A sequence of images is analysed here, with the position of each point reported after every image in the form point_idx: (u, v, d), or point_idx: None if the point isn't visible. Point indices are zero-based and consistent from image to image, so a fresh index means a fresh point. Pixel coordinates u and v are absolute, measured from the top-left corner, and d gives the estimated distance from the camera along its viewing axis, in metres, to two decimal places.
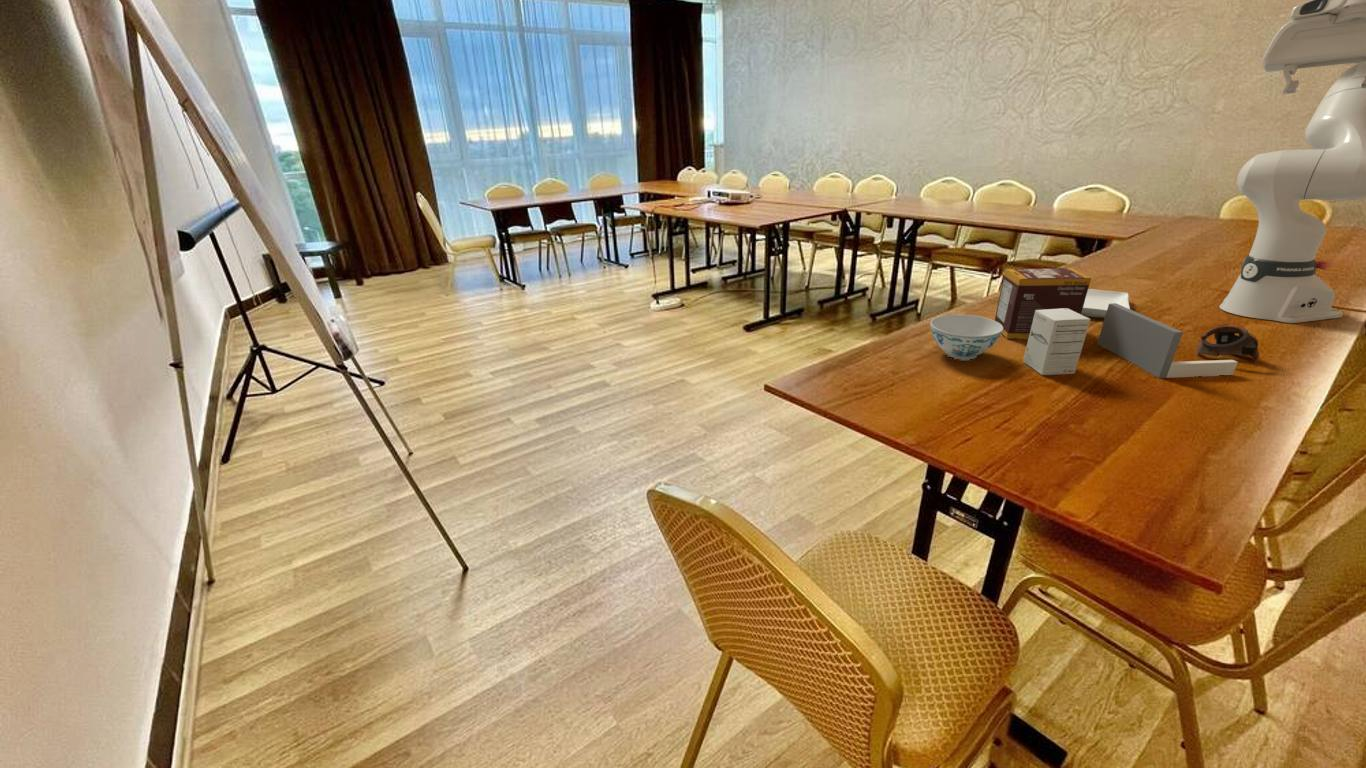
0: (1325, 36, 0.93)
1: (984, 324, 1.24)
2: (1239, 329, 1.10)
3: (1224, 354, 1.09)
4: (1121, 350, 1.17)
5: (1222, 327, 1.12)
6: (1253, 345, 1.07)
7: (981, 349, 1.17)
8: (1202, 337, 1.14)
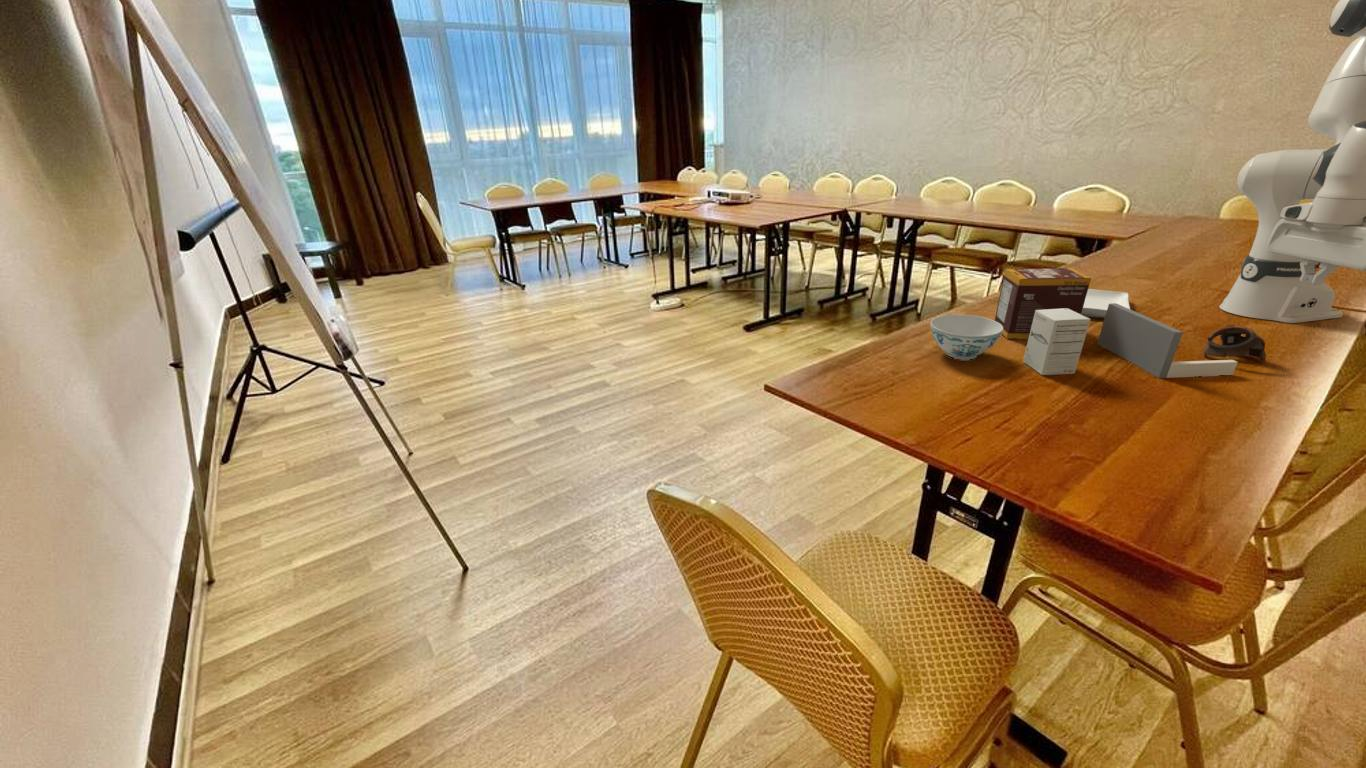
0: (1305, 238, 1.05)
1: (984, 324, 1.24)
2: (1246, 330, 1.09)
3: (1231, 355, 1.09)
4: (1121, 350, 1.17)
5: (1229, 328, 1.12)
6: (1260, 346, 1.07)
7: (981, 349, 1.17)
8: (1208, 338, 1.13)
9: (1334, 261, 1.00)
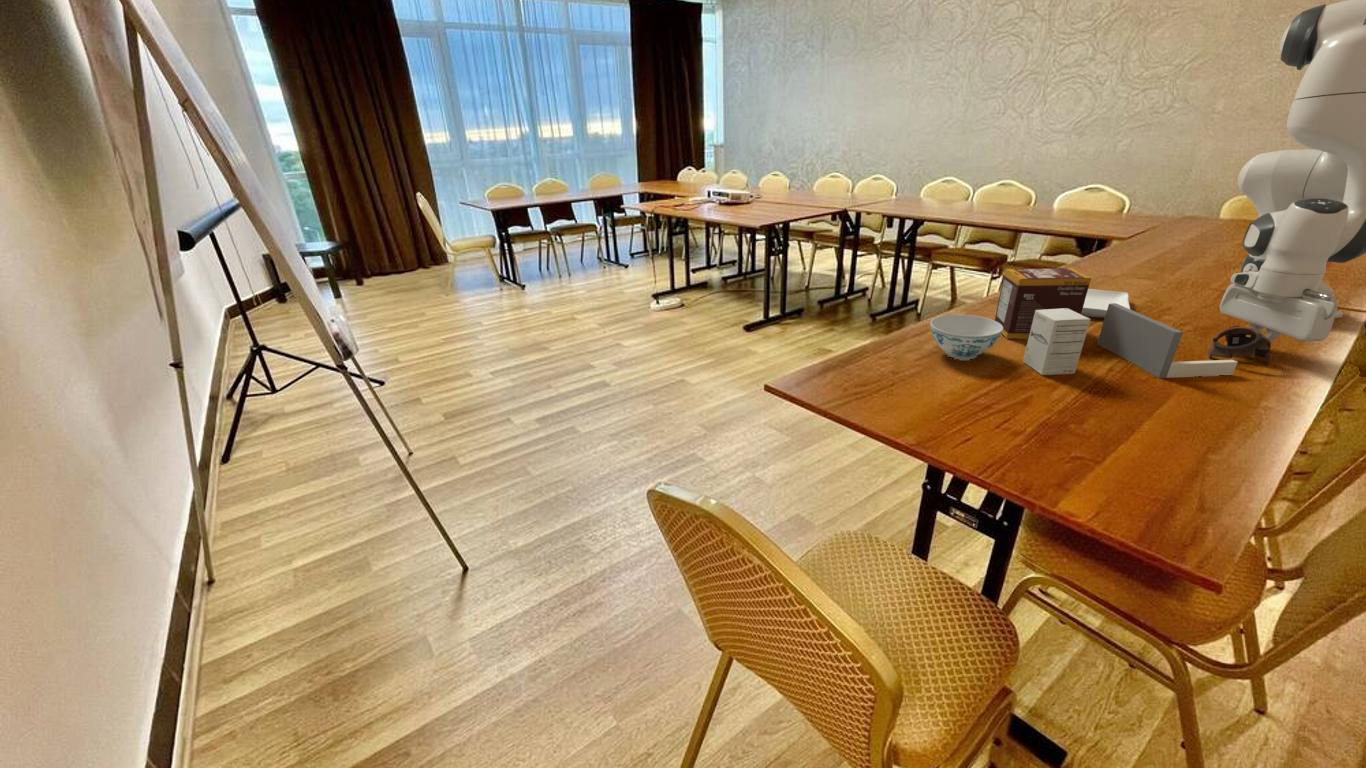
0: (1253, 304, 1.11)
1: (984, 324, 1.24)
2: (1251, 331, 1.08)
3: (1237, 356, 1.08)
4: (1121, 350, 1.17)
5: (1234, 329, 1.11)
6: (1266, 347, 1.06)
7: (981, 349, 1.17)
8: (1214, 339, 1.12)
9: (1278, 329, 1.06)
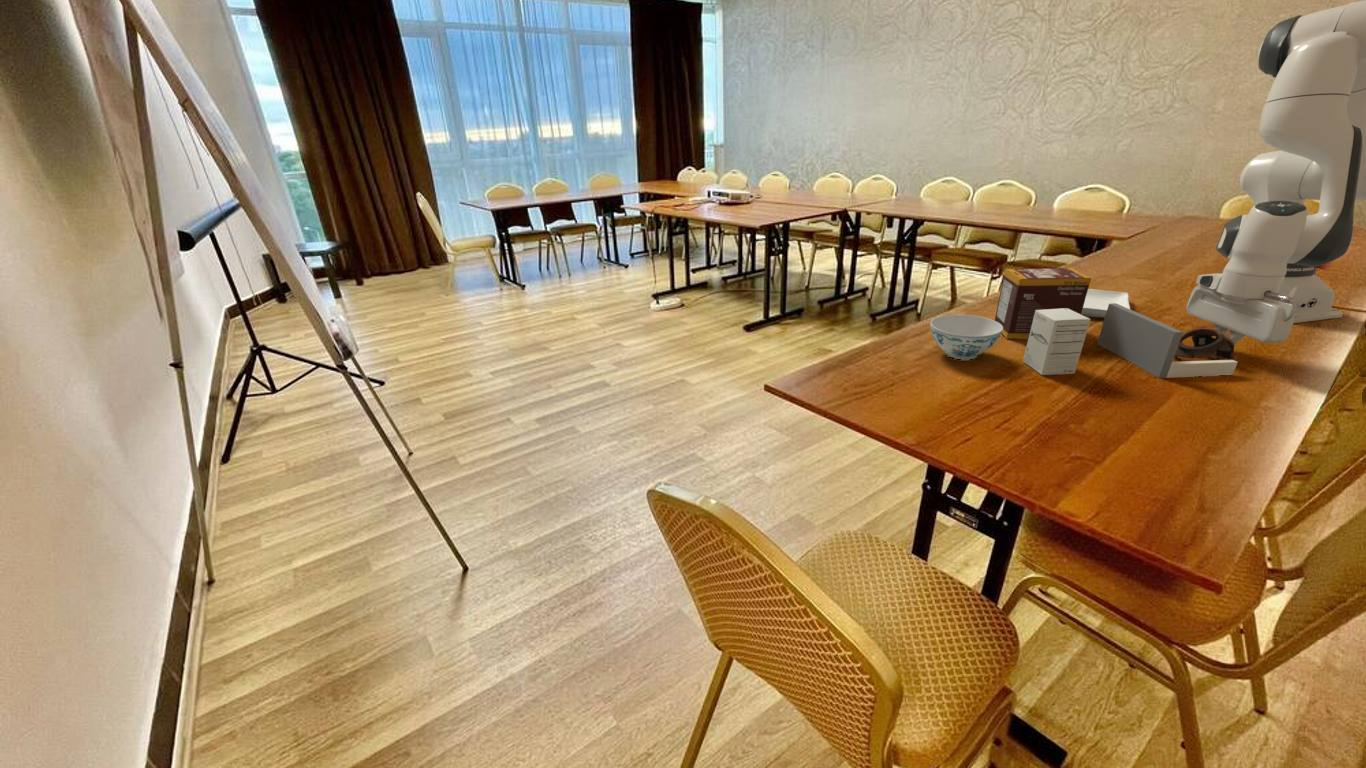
0: (1217, 305, 1.12)
1: (984, 324, 1.24)
2: (1215, 332, 1.09)
3: (1199, 357, 1.09)
4: (1121, 350, 1.17)
5: (1198, 329, 1.12)
6: (1228, 348, 1.07)
7: (981, 349, 1.17)
8: None
9: (1240, 330, 1.07)
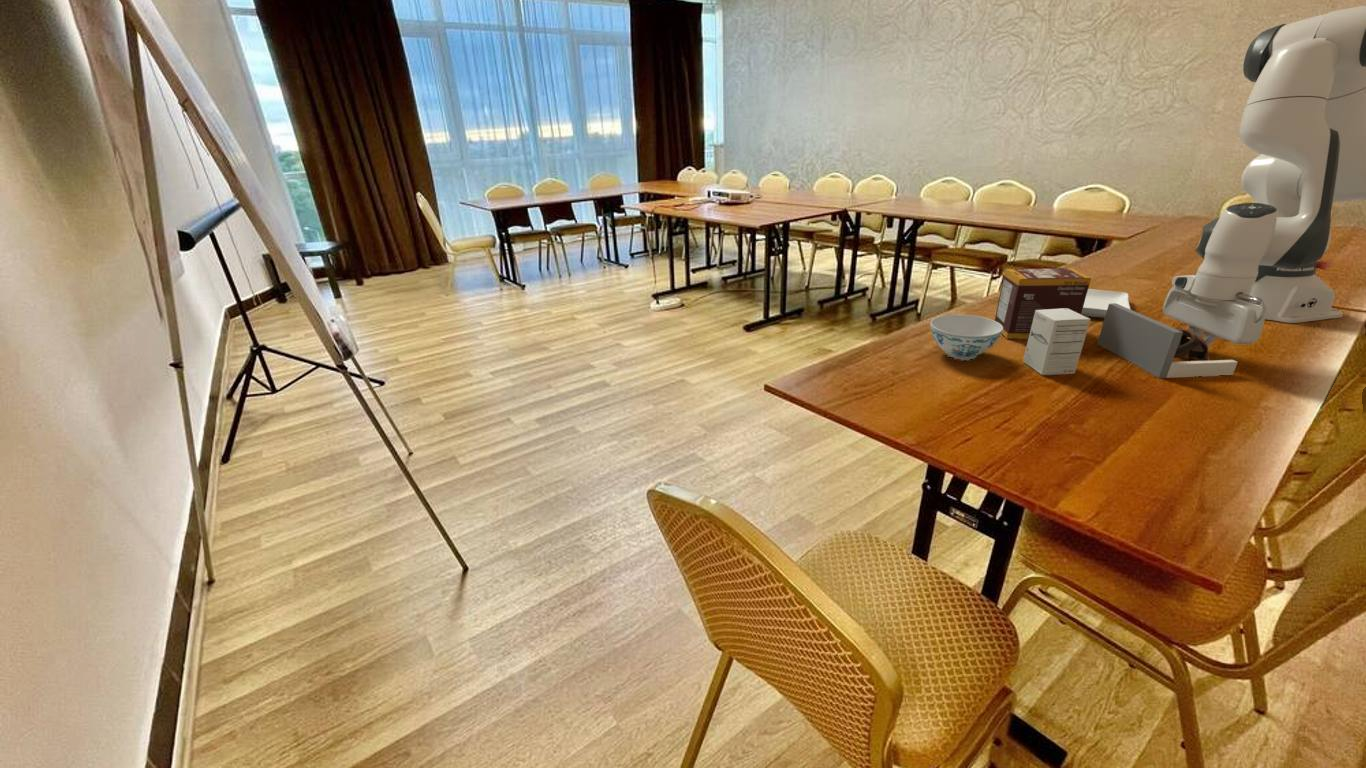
0: (1192, 307, 1.13)
1: (984, 324, 1.24)
2: (1188, 332, 1.10)
3: None
4: (1121, 350, 1.17)
5: None
6: (1200, 349, 1.07)
7: (981, 349, 1.17)
8: None
9: (1213, 332, 1.08)
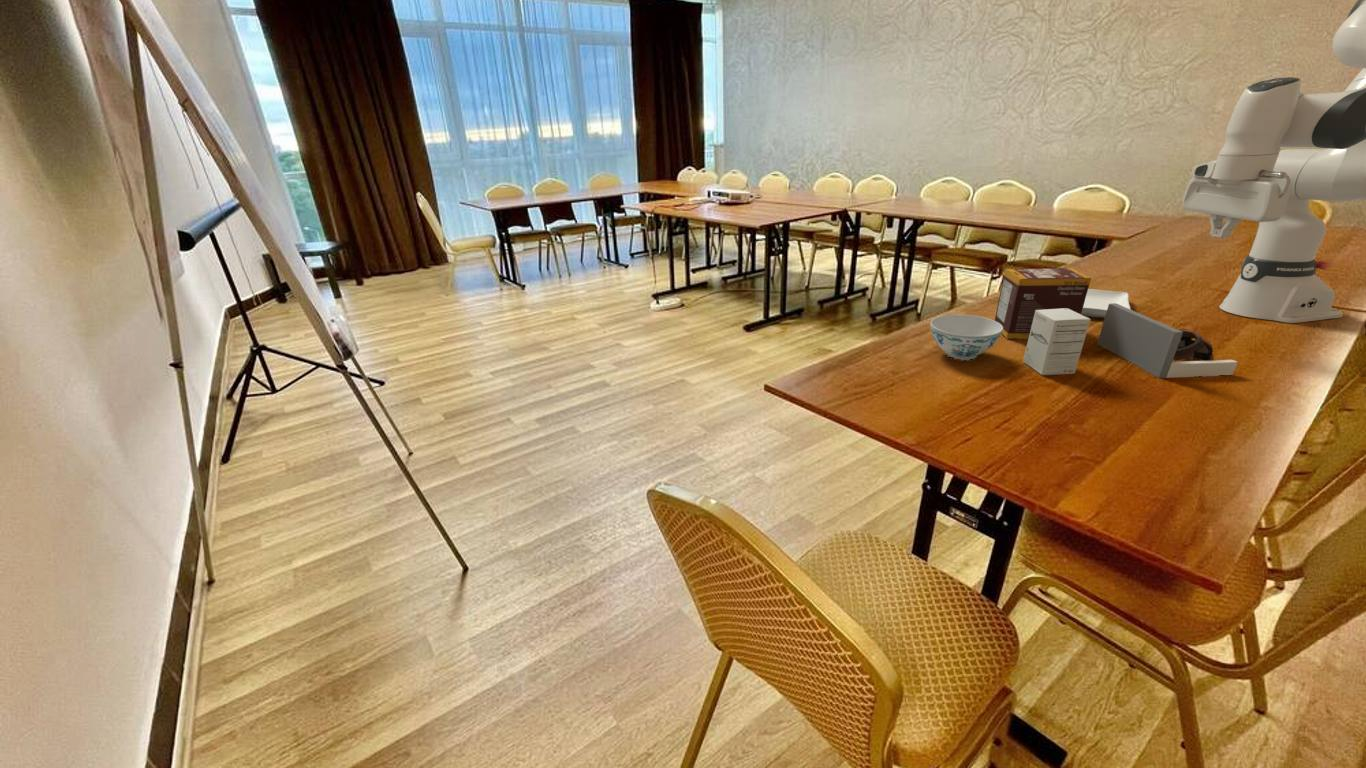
0: (1213, 194, 1.12)
1: (984, 324, 1.24)
2: (1193, 334, 1.09)
3: (1176, 359, 1.09)
4: (1121, 350, 1.17)
5: None
6: (1205, 350, 1.07)
7: (981, 349, 1.17)
8: None
9: (1236, 214, 1.08)
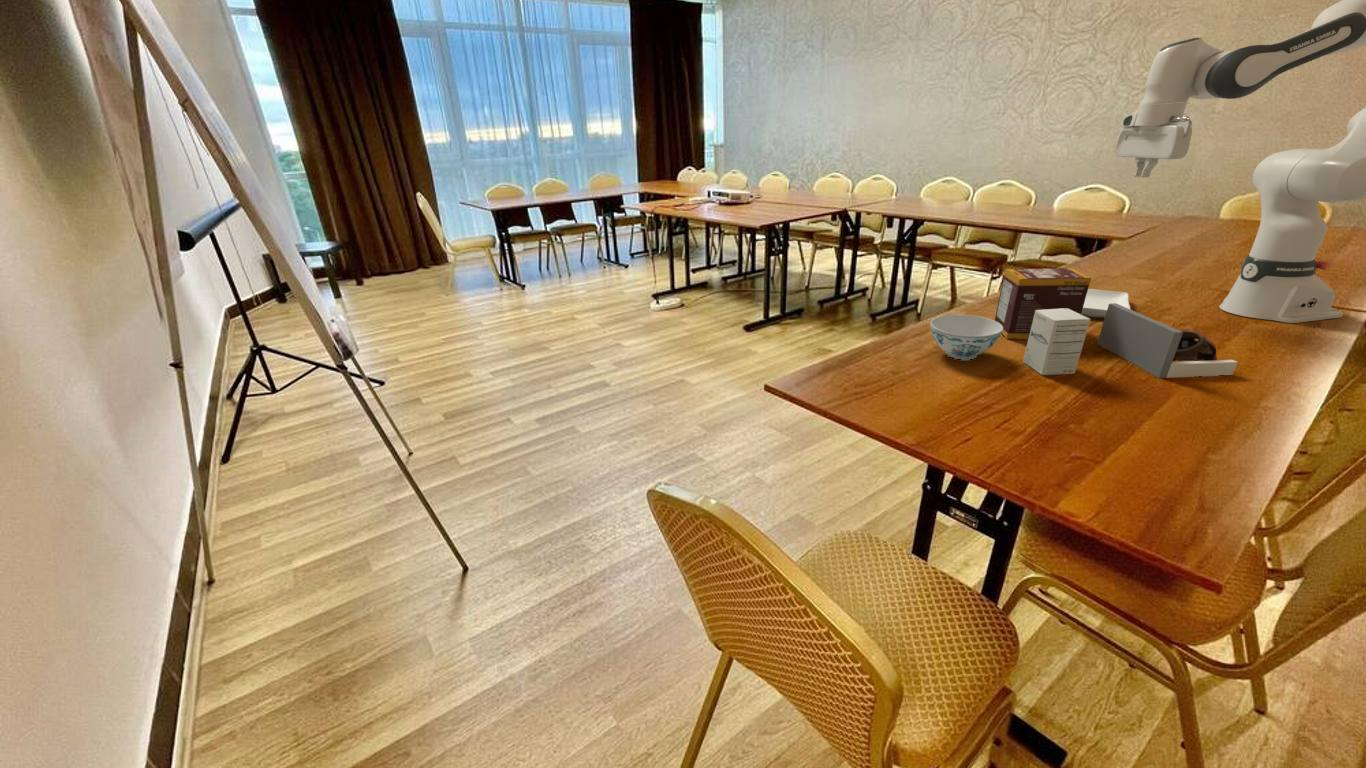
0: (1136, 140, 1.33)
1: (984, 324, 1.24)
2: (1197, 334, 1.09)
3: (1180, 359, 1.08)
4: (1121, 350, 1.17)
5: None
6: (1209, 351, 1.06)
7: (981, 349, 1.17)
8: None
9: (1152, 155, 1.28)
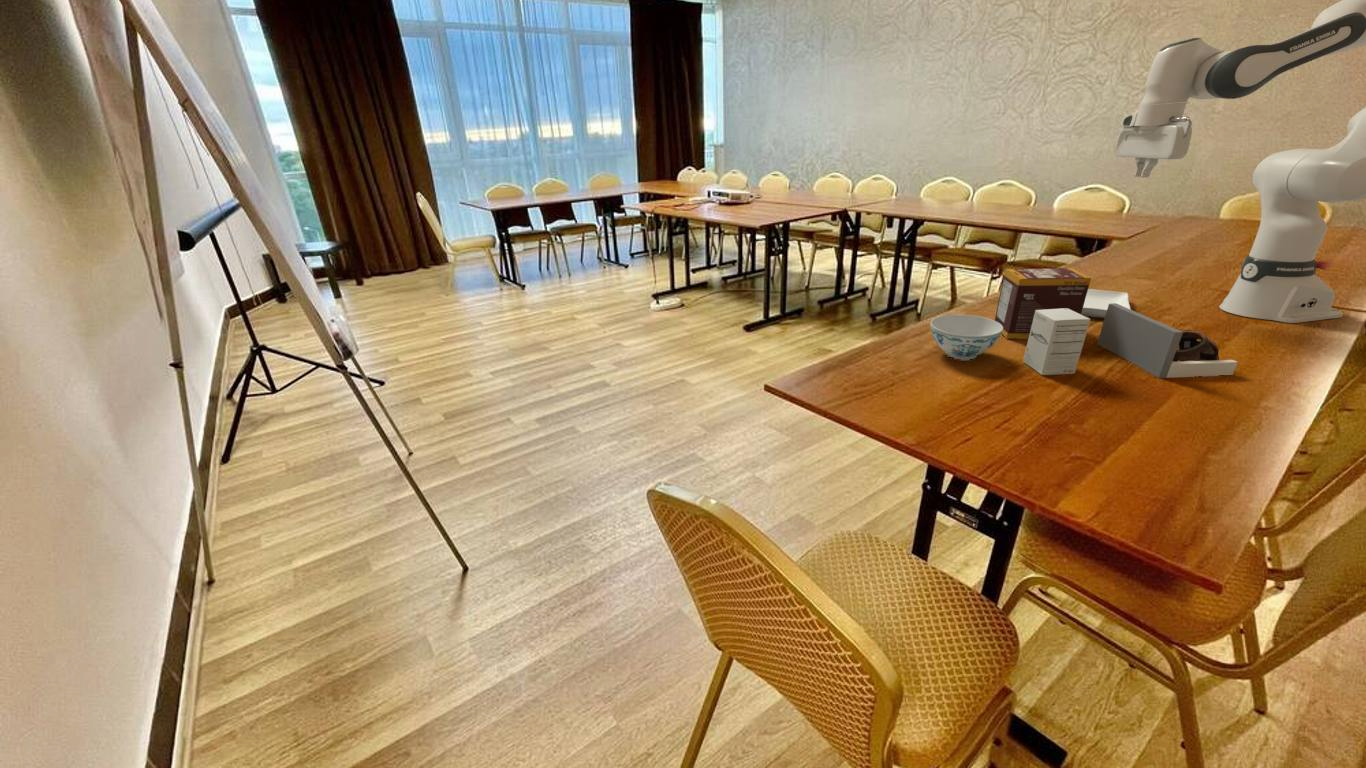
0: (1136, 141, 1.33)
1: (984, 324, 1.24)
2: (1199, 335, 1.09)
3: (1182, 360, 1.08)
4: (1121, 350, 1.17)
5: (1183, 332, 1.11)
6: (1211, 351, 1.06)
7: (981, 349, 1.17)
8: None
9: (1152, 155, 1.28)
